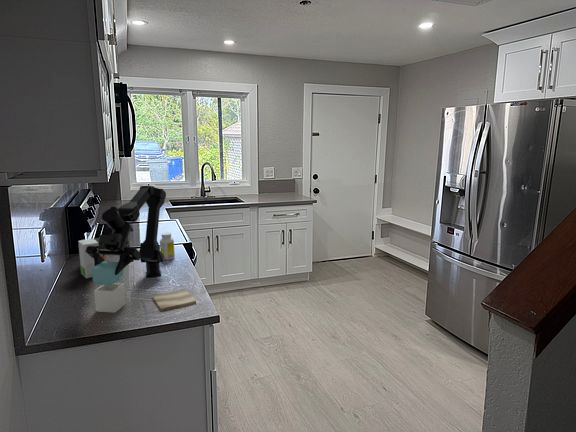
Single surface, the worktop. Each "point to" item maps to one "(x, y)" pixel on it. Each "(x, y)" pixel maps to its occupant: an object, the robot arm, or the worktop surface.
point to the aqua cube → (106, 273)
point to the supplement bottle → (167, 246)
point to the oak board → (173, 299)
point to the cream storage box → (110, 298)
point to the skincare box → (86, 257)
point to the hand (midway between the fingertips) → (105, 274)
